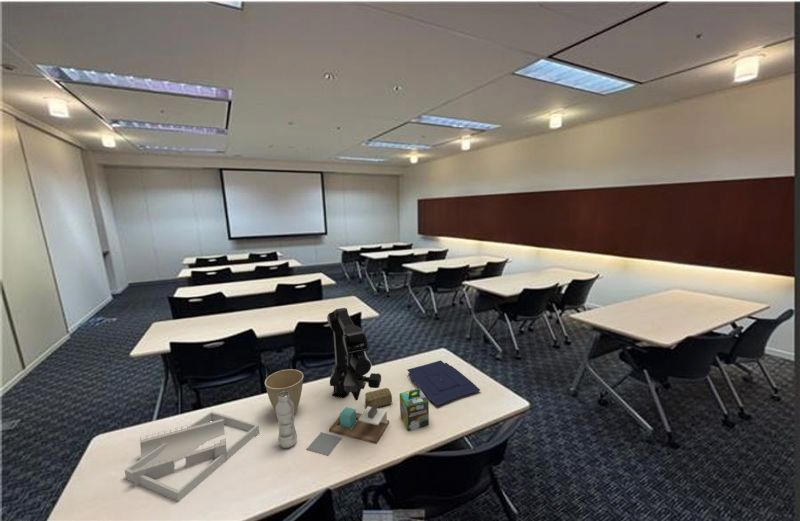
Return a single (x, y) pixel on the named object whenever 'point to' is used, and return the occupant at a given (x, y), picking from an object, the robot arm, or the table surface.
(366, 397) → the stone block
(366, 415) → the cover
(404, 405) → the chalk box
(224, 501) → the table surface
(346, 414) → the teal block
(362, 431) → the brown wooden board
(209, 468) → the organizer tray
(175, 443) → the skate ramp
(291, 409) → the plastic bottle
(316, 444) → the slate mat
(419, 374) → the navy folded cloth
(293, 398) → the plant pot
